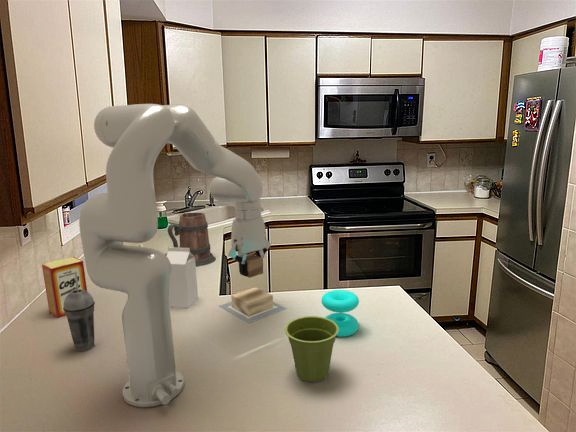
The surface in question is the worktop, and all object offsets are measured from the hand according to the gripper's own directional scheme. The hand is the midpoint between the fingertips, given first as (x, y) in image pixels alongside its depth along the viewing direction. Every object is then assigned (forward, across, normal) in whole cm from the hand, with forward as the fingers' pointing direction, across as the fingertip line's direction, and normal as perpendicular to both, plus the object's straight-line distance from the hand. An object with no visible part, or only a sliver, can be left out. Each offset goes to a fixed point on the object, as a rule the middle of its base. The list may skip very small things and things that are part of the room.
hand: (251, 272), depth 127 cm
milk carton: (+12, +15, -18) cm, 26 cm away
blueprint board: (+12, +1, 0) cm, 12 cm away
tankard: (+13, -7, -56) cm, 58 cm away
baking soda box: (+12, +43, -40) cm, 59 cm away
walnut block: (+1, 0, 0) cm, 1 cm away
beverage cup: (+11, +46, -12) cm, 49 cm away
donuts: (+12, -9, +27) cm, 31 cm away
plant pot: (+12, +11, +37) cm, 41 cm away
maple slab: (+11, +1, 0) cm, 11 cm away
